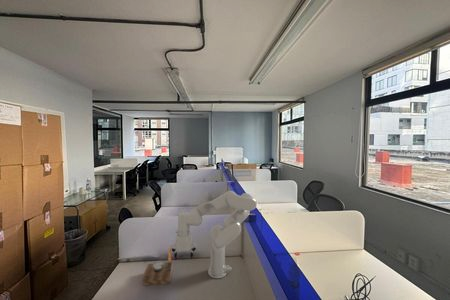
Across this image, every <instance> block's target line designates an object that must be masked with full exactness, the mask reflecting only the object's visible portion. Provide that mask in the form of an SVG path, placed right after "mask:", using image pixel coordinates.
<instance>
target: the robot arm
mask: <svg viewBox="0 0 450 300" xmlns="http://www.w3.org/2000/svg"><path fill="white" fill-rule="evenodd" d="M257 205H258V203H257V200H256V199H255V198H254V197H253V196H252V195H251V194H249V193H247V192H243V193H242V194H241V195H240V194H237V193H236V192H235V191H233V190H227V191H226V192H225V193H222V194H221V195H219V196H218V197H216V198H214V199H213V200H210V201H206V202H204V203H201V204H200V205H197V206H195V208H193V209H192V210H191V211H190V212H186V211H183V212H180V213H179V214H178V216H177V230H175V233H176V237H175V242H174V243H173V244H170V245H169V248H171V252H173V255H174V256H173V257H174V258H175V260H177V258H178V252H189V251H190V259H193V257H194V252H195V251H196V249H197V247H198V244H197V243H196V242H193V240H192V233H191V226H193V227H198V226H200V225H202V224H203V221H204V220H203V216H205V215H206V214H209V213H219V212H221V211H223V210H225V209H226V208H228V207H230V208H233V209H235V210H234V211H233V212H232V213H230V215H228V216H227V217H226V218H224V221H223V226H224V228H223V226H222V225H219V224H217V225H214V226H212V227H211V229H210V232H209V237H210V266H209V268H208V270H207V274H208V276H209V277H211V278H212V279H223V278H224V277H225V276H226V275H228V271H232V270H233V268H232V266H230V265H229V264H227V265H226V252H225V251H226V246H228V245H229V244H230V243H231V242H233V241H234V240H235V239H236V238H238V236H239V235H240V234H241V232H242V225H241V224H242V223H243V222H244V221H245V220H246V219H247V218H248V217H249V215H250V212H251V211H254V210H255V209H256V207H257ZM193 246H194V247H193ZM174 247H175V248H174Z"/></svg>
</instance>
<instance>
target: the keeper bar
mask: <svg viewBox="0 0 450 300" xmlns="http://www.w3.org/2000/svg"><path fill="white" fill-rule="evenodd" d="M167 253H168V254H167V256H168V257H167V259H168V260H167V261H168V262H167V263H171V258H172V250H171V248H170V247H168V251H167Z"/></svg>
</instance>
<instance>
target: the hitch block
mask: <svg viewBox="0 0 450 300" xmlns="http://www.w3.org/2000/svg"><path fill="white" fill-rule="evenodd" d="M173 271H174V270H173V262H172V257H171V263H168V262H163V270H162V271H160V272H155V271H154V263H148V264H147V265H146V268H145V270H144V273H143V275H142V285H143V287H144V286H157V285H170V284H171V280H172V275H173Z"/></svg>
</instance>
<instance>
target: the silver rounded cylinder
mask: <svg viewBox="0 0 450 300" xmlns="http://www.w3.org/2000/svg"><path fill="white" fill-rule="evenodd" d="M163 263H164V261H163V260H157V261H154V262H153V264H154V271H155V272H160V271H162V270H163Z"/></svg>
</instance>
